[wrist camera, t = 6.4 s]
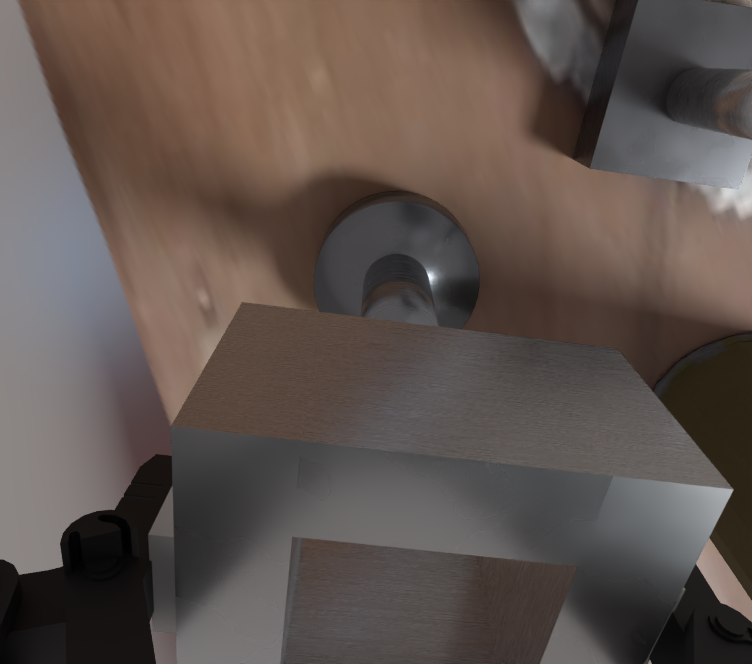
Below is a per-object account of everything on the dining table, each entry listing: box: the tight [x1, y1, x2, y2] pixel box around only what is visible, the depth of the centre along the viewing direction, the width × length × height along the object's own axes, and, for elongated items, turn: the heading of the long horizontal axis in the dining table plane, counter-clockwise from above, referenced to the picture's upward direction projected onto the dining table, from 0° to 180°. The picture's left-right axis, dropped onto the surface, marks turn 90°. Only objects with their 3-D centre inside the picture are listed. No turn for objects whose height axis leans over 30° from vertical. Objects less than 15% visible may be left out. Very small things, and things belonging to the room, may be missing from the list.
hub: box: [314, 191, 480, 329], centre depth 26 cm, size 8×8×9 cm
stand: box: [573, 0, 752, 189], centre depth 22 cm, size 7×7×10 cm
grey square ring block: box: [171, 302, 734, 664], centre depth 13 cm, size 9×9×5 cm
